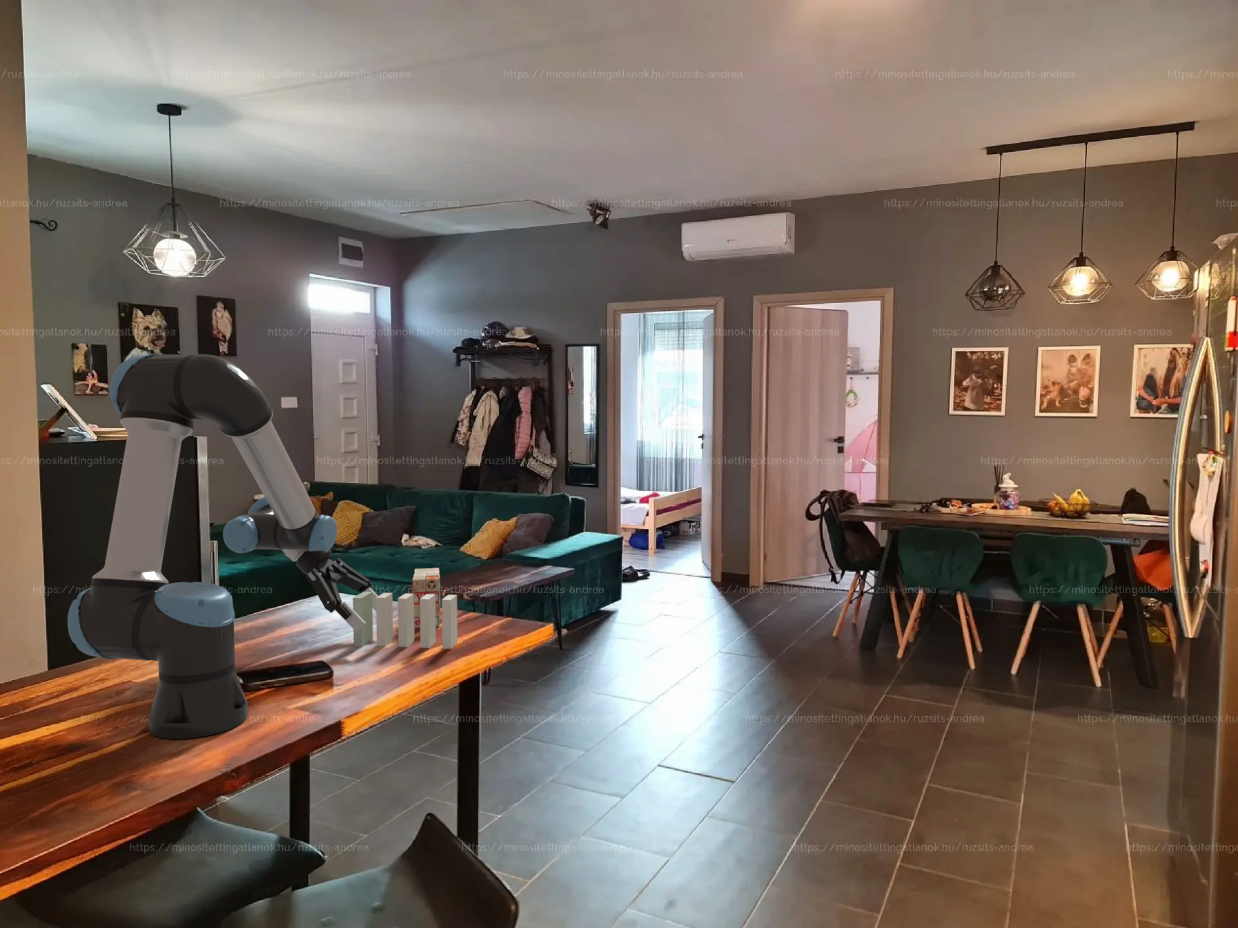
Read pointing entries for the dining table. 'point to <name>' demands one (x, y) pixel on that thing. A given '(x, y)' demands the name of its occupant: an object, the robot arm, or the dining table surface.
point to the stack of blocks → (426, 591)
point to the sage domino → (364, 610)
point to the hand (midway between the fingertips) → (373, 619)
